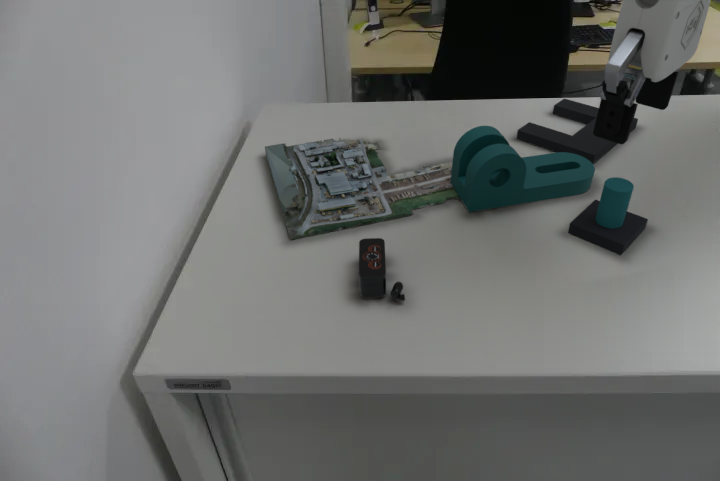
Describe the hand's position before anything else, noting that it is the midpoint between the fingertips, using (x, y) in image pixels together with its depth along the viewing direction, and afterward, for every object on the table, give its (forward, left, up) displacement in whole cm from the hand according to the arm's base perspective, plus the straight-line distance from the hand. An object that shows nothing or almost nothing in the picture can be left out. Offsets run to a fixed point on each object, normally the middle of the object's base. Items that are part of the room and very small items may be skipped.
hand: (630, 121), depth 57 cm
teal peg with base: (0, 0, -14) cm, 14 cm away
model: (+7, -28, -14) cm, 32 cm away
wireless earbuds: (+24, -13, -14) cm, 31 cm away
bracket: (-2, -12, -14) cm, 18 cm away
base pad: (-20, -14, -14) cm, 28 cm away
